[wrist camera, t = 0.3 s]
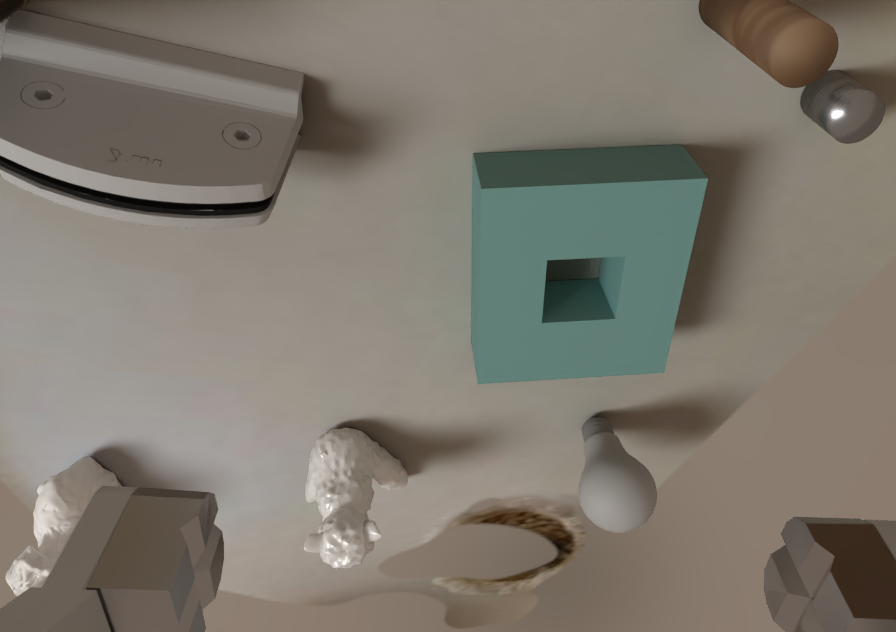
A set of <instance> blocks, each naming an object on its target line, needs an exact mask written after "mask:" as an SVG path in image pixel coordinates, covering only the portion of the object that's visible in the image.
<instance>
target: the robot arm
mask: <svg viewBox="0 0 896 632" xmlns="http://www.w3.org/2000/svg"><path fill="white" fill-rule="evenodd" d="M217 511H218V507H217V503H216V499H215V494H214V493H210V492H198V491H183V490H169V489H154V488H140V487H139V488H135V487H118V486H101V487H100V488H99V489H98V490H97V491H96V492H95V493H94V494H93V495H92V496H91V498H90V500H89V502H88V503H87V505H86V507H85V509H84V511H83V513H82V514H81V516H80V518H79V520H78V522H77V524H76V525H75V527H74V529H73V531H72V533H71V535H70V536H69V538H68V540H67V542H66V544H65V546H64V547H63V549H62V551H61V553H60V555H59V557H58V558H57V560H56V562H55V564H54V566H53V567H52V569H51V571H50V573H49V575H48V577H47V578H46V580H45V582H44V584H43V586H42V588H37V587H30V588H29V589H27V590H26V591H24V592H23V593H22V594H20V595H19V596H18V597H16V598H15V599H13V600H12V601H11V602H9V603H8V604H6V605H5V606H4V607H2V608H1V609H0V632H205V629H206V627H205V621H204V616H203V612H202V610H203V609H204V608H205V607H206V606H207V605H208V604H209V603H210V602H212V601H213V600H214V599H215V597H216V593H217V590H218V587H219V583H220V580H221V574H222V567H223V561H224V541H223V535H222V531H221V530H220V529H219V528H218V527H217V526H215V525H214V524H213V523H214V520H215V517H216V514H217ZM781 536H782V538H783V540H784V542H785V546H783V547H781V548H780V549H778V550H777V551H775V552H774V553H772V554H771V555H770V558H769V560H768V562H767V565H766V567H765V570H764V592H765V597H766V601H767V605H768V608H769V610H770V613H771V616H772V618H773V621H774V622H776V623H777V624H778V625H779V626H780V627H781V628H782V629H783V630H784V631H785V632H896V521H887V520H861V519H848V518H817V517H816V518H814V517H793V518H792V519H790V520H789V521H787V523H786V524H785V526H784V528H783V530H782V532H781Z"/></svg>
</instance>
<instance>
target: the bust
mask: <svg viewBox="0 0 896 632" xmlns="http://www.w3.org/2000/svg"><path fill="white" fill-rule="evenodd" d="M101 486H118V487H122V485H121V484H120V483H119V482H118V480H117V478H116V475H115V474H114V473H113V472H111V471H108V470H106V469H104V468H103V467H101V466H100V464H99V463H97V462H96V461H95V460H94V459H92V458H91V457H84V458H82V459H80V460H79V461H77V462H76V463H75V464H73V465H72V466H71V467H69V468H68V469H67V470H65V471H63V472H60V473H59V474H57V475H55V476H52V477H50V479H49V480H47V481H45V482H44V483H43V484H41V485H40V486H39V487H38V490H37V492H38V495H39V496H38V498H37V500H36V508H35V510H34V513H33V516H34V535H35V537H36V539H37V541H38V549H37V550H35V549H34V548H33V547H32V546H30V545H29V546H28V547H27V548H26V549H25V551H24V552H23V553H22V554H21V555H20V556H19V557H18V558H16V559H15V560H14V562H13V564H12V566H11V568H10V570H8V572H7V573H6V581H7V583H8V584H9V586H10V587H11V589H12V590H13V591H14V595H16V596H17V597H18V596H19V595H20V594H22V593H23V592H24V591H26V590H27V589H29V588H30V587H37V588H42V586H43V584H44V582H45V580H46V578H47V577H48V575H49V573H50V571H51V569H52V567H53V566H54V564H55V562H56V560H57V558H58V557H59V555H60V553H61V551H62V549H63V547H64V546H65V544H66V542H67V540H68V538H69V536H70V535H71V533H72V531H73V529H74V527H75V525H76V524H77V522H78V520H79V518H80V516H81V514H82V513H83V511H84V509H85V507H86V505H87V503H88V502H89V500H90V498H91V496H92V495H93V494H94V493H95V492H96V491H97V490H98V489H99V488H100V487H101Z"/></svg>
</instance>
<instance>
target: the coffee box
mask: <svg viewBox="0 0 896 632" xmlns="http://www.w3.org/2000/svg"><path fill="white" fill-rule="evenodd" d="M30 1H32V0H0V23H1V22H2V21H4V20H5V19H7V18H8V17H9V16H11V15H12V14H13V13H15V12H16V11H18V10H19V9H20V8H22V7H23V6H24V5H26V4H27V3H29V2H30Z"/></svg>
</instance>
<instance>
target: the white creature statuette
mask: <svg viewBox="0 0 896 632" xmlns="http://www.w3.org/2000/svg"><path fill="white" fill-rule="evenodd" d="M309 458H310V460H309V465H310V466H309V470H308V476H307V478H308V480H307V481H306V493H305V494H306V500H307V501H308V502H310V503H313V502H314V501H317V503H319V505H318V510H319V511H320V513H321V514H322V516H323V519H322V521H323V522H322V523H321V525H320V528H319V530H318V532H317V533H313V534H310V535H309V536H308V538H307V539H306V541H305V544H304V549H305V551H308V552H314V553H319V552H320V557H321V558H322V559H323V562H325V563H326V562H327V564H329V565H331V566H332V567H333V568H340V567H341V568H342V569H345V568H352V567H353V566H354V565H355V564H357V565H359V564H361V563H362V560H363V558H364V557H365V556H366V554H367V553H369V552H370V551H372V550H373V547H374V541H376V540H378V539H379V538H381V533H380V532H379V530H378V528H377V526H376V524H375V521H370V520H369V519H368V515H367V511H368V510H369V509H370V508H371V506H370V505H371V502H372V499H373V494H374V491H373V489H372V479H373V478H374V479H375V480H376V481H377V482H378V484H379V485H380V487H381V488H387V489H390V490H397V491H398V490H400V488H403V487H405V486H406V484H407V482H408V476H407V473H406V471H405V469H404V468H403V467H402V465H401V462H400V459H399V460H397V459H396V458H393V456H392V455H390V454H389V453H388V452H387V451H386V449H385V448H384V447H380V446H379V445H378V443H377V442H376V441H373V440H371V439H370V438H369V437H368V436H367V434H366V433H363V432H362V431H359V430H356V429H352V428H342V429H331V430H330V431H329V432H328V433H326V434H324V435H321V436H320V437H319V439H317V440H316V445H315V447H313V448H312V451H311V456H310V457H309Z"/></svg>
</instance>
